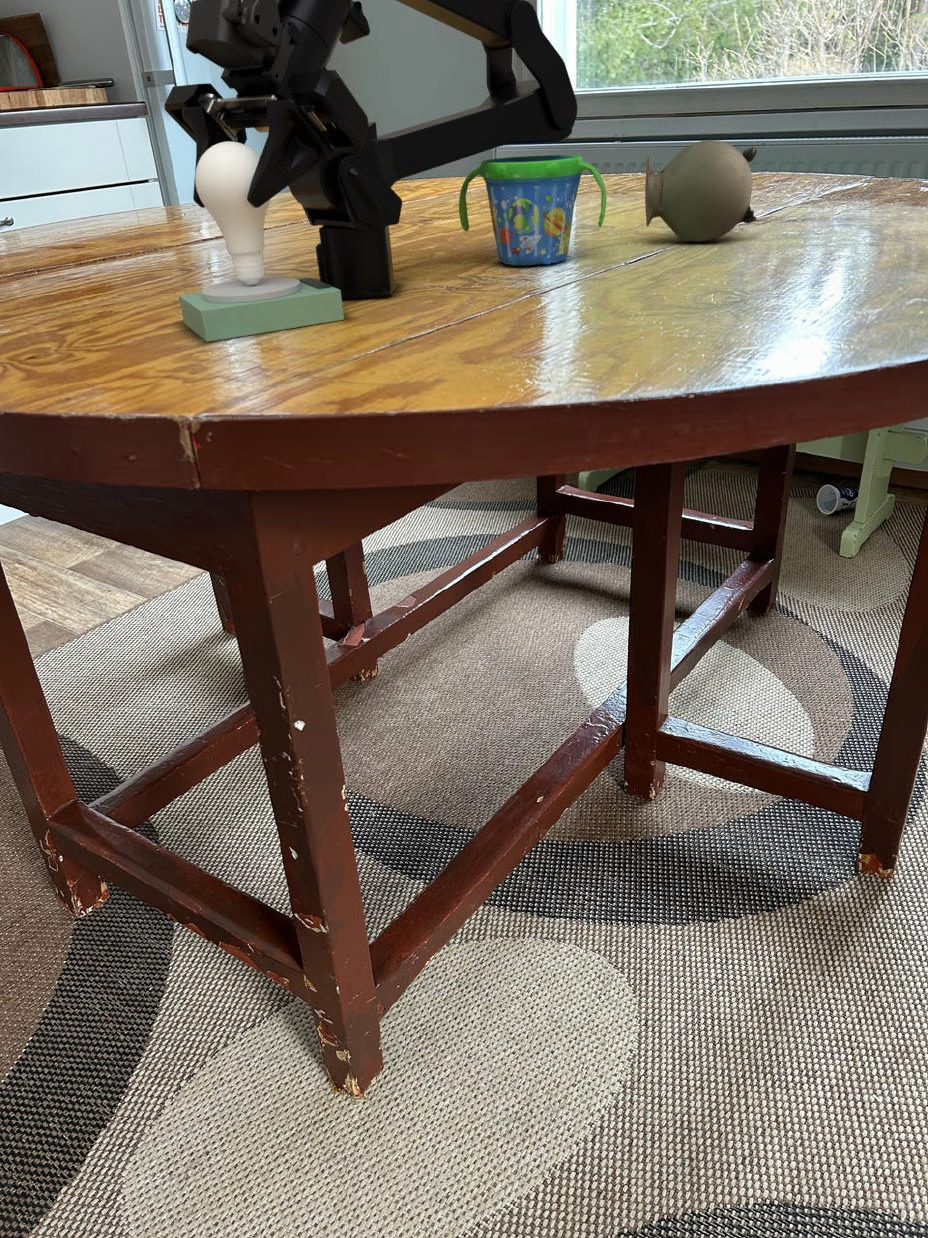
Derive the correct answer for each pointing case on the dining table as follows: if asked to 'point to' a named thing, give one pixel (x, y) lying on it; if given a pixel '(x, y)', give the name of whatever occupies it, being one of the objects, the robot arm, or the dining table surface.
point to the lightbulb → (234, 205)
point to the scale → (260, 307)
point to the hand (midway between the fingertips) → (224, 203)
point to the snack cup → (531, 205)
